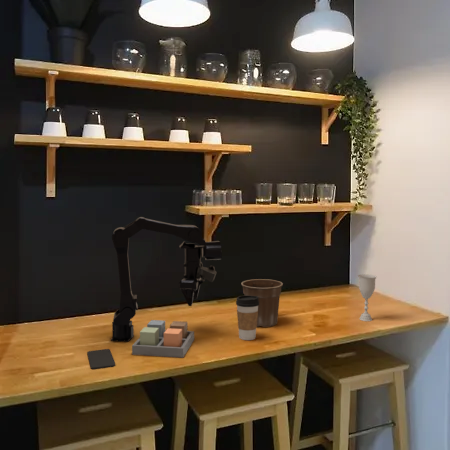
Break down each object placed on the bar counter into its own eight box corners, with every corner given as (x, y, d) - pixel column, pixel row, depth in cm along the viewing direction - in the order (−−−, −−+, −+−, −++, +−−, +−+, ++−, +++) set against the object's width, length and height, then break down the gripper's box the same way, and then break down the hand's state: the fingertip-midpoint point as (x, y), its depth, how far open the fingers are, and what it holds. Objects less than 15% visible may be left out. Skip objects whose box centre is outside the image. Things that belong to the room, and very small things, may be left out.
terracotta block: (163, 351, 149) (163, 333, 149) (167, 345, 154) (167, 328, 154) (178, 351, 149) (178, 333, 148) (182, 346, 154) (182, 329, 153)
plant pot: (232, 323, 183) (232, 283, 181) (258, 314, 194) (258, 276, 193) (265, 332, 172) (265, 289, 170) (290, 322, 183) (290, 282, 182)
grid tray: (132, 354, 149) (131, 333, 148) (148, 337, 166) (147, 318, 165) (183, 357, 147) (183, 336, 146) (194, 339, 163) (194, 320, 163)
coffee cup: (252, 343, 160) (252, 300, 158) (231, 338, 164) (231, 297, 163) (263, 336, 167) (263, 295, 166) (242, 332, 172) (243, 292, 170)
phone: (109, 348, 153) (116, 364, 140) (109, 350, 154) (116, 367, 140) (86, 351, 151) (90, 368, 137) (86, 353, 151) (90, 370, 137)
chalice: (355, 320, 186) (357, 276, 184) (357, 316, 192) (358, 273, 191) (374, 322, 183) (376, 278, 182) (375, 318, 190) (377, 275, 188)
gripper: (210, 265, 156) (210, 310, 157) (218, 256, 174) (218, 297, 175) (178, 264, 157) (178, 309, 159) (189, 255, 175) (190, 295, 177)
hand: (192, 302), depth 167 cm, fingers open, 9 cm apart
